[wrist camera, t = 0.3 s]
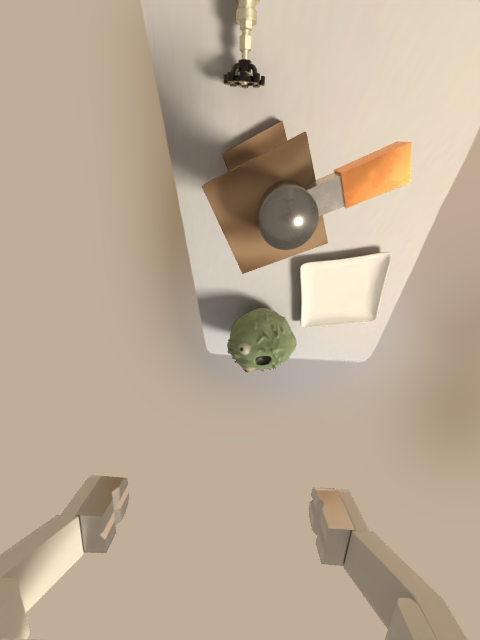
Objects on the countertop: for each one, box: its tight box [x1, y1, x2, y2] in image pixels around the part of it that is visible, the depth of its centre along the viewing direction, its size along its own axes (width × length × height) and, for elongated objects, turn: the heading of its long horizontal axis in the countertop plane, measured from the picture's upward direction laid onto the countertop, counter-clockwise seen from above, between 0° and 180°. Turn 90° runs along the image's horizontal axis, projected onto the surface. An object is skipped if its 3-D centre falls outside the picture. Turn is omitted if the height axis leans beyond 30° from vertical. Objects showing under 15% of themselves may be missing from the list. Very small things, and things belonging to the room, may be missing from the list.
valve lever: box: [259, 142, 411, 250], centre depth 24 cm, size 6×15×5 cm, turn 113°
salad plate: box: [300, 252, 392, 328], centre depth 61 cm, size 21×21×3 cm
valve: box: [224, 0, 265, 88], centre depth 33 cm, size 7×7×12 cm
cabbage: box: [227, 308, 296, 372], centre depth 63 cm, size 16×19×20 cm
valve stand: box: [202, 121, 328, 274], centre depth 38 cm, size 16×12×26 cm
